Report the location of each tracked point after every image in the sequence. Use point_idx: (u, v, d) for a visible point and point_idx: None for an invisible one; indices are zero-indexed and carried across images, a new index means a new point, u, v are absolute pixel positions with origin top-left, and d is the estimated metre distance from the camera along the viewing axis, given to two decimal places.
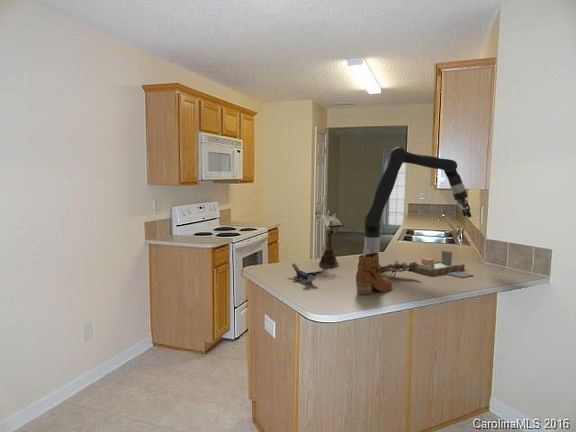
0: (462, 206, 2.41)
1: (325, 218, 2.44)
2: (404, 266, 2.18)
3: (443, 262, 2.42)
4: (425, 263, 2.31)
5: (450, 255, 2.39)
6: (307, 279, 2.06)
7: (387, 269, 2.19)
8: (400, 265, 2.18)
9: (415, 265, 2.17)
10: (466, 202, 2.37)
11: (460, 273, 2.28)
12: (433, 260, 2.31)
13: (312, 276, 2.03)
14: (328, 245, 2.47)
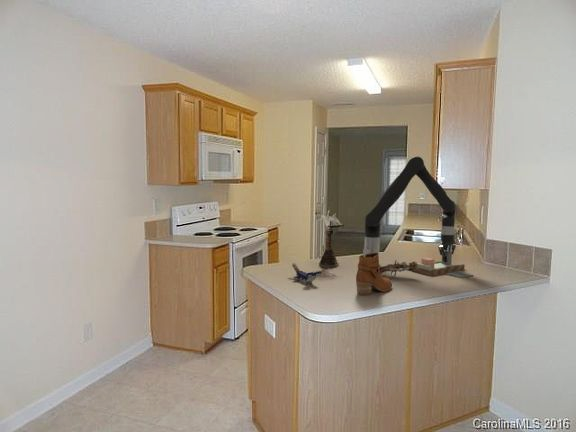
0: None
1: (325, 218, 2.44)
2: (404, 266, 2.19)
3: (443, 262, 2.42)
4: (425, 263, 2.31)
5: (450, 255, 2.39)
6: (307, 279, 2.06)
7: (387, 269, 2.19)
8: (400, 265, 2.19)
9: (415, 265, 2.18)
10: (440, 248, 2.37)
11: (460, 273, 2.28)
12: (433, 260, 2.31)
13: (312, 276, 2.03)
14: (328, 245, 2.47)
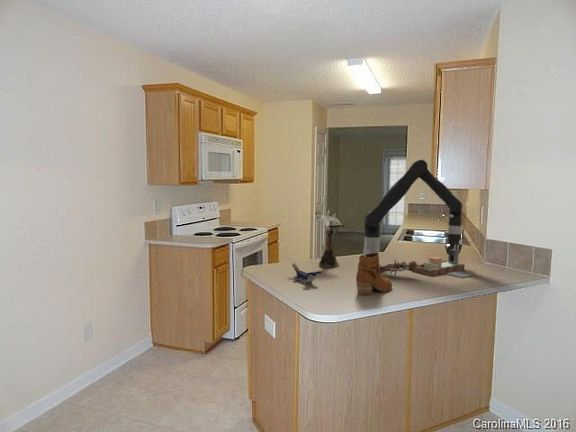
0: None
1: (325, 218, 2.44)
2: (404, 265, 2.19)
3: (450, 261, 2.45)
4: (432, 262, 2.34)
5: (457, 254, 2.42)
6: (307, 279, 2.06)
7: (387, 269, 2.20)
8: (400, 264, 2.20)
9: (415, 264, 2.19)
10: (447, 248, 2.40)
11: (460, 273, 2.28)
12: (440, 259, 2.34)
13: (312, 276, 2.03)
14: (328, 245, 2.47)
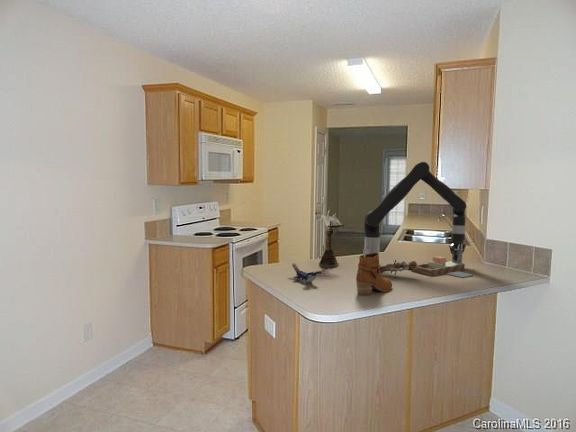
0: None
1: (325, 218, 2.44)
2: (404, 265, 2.20)
3: None
4: (436, 261, 2.36)
5: (461, 253, 2.44)
6: (307, 279, 2.06)
7: (387, 269, 2.20)
8: (400, 264, 2.20)
9: (415, 264, 2.19)
10: (451, 247, 2.42)
11: (460, 273, 2.28)
12: (444, 258, 2.36)
13: (312, 276, 2.03)
14: (328, 245, 2.47)
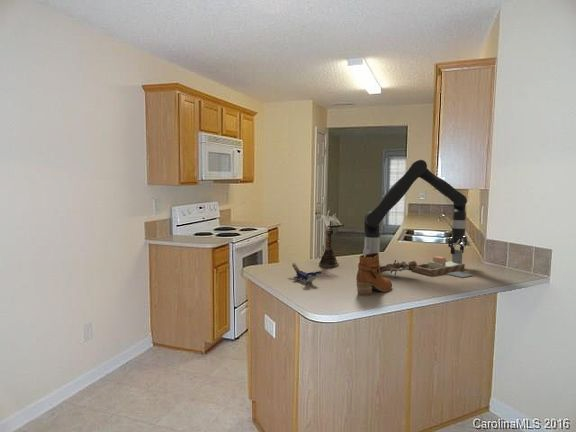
0: None
1: (325, 218, 2.44)
2: (404, 265, 2.20)
3: (454, 260, 2.47)
4: (437, 261, 2.36)
5: (461, 253, 2.44)
6: (307, 279, 2.06)
7: (387, 268, 2.20)
8: (400, 264, 2.20)
9: (414, 264, 2.20)
10: (451, 239, 2.41)
11: (460, 273, 2.28)
12: (444, 258, 2.36)
13: (312, 276, 2.03)
14: (328, 245, 2.47)
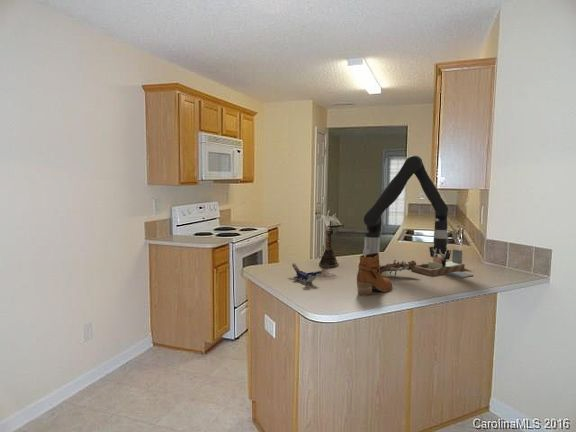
0: (442, 253, 2.34)
1: (325, 218, 2.44)
2: (404, 265, 2.21)
3: (454, 260, 2.47)
4: (437, 261, 2.36)
5: (461, 253, 2.44)
6: (307, 279, 2.06)
7: (387, 268, 2.20)
8: (400, 264, 2.21)
9: (414, 263, 2.21)
10: (450, 252, 2.32)
11: (460, 273, 2.28)
12: None
13: (312, 276, 2.03)
14: (328, 245, 2.47)
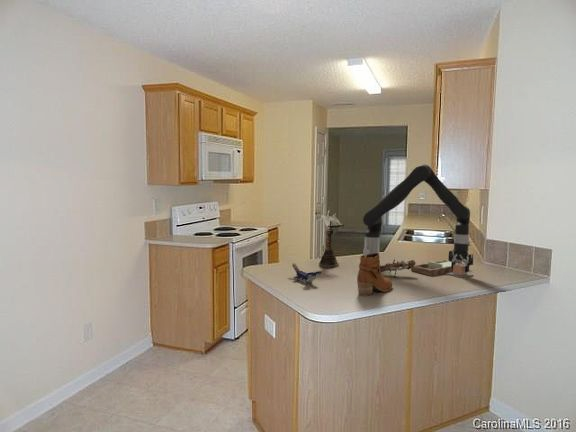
0: (463, 259, 2.22)
1: (325, 218, 2.44)
2: (403, 264, 2.22)
3: None
4: (457, 270, 2.25)
5: None
6: (307, 279, 2.06)
7: (387, 268, 2.21)
8: (399, 263, 2.22)
9: (413, 263, 2.22)
10: (472, 256, 2.20)
11: None
12: None
13: (312, 276, 2.03)
14: (328, 245, 2.47)
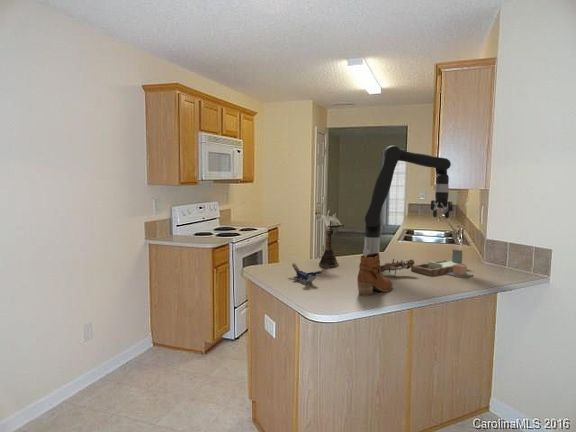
0: (444, 206, 2.43)
1: (325, 218, 2.44)
2: (403, 264, 2.23)
3: (454, 260, 2.47)
4: (457, 270, 2.25)
5: (461, 253, 2.44)
6: (307, 279, 2.06)
7: (387, 268, 2.22)
8: (399, 263, 2.23)
9: (412, 262, 2.24)
10: (451, 203, 2.41)
11: None
12: (465, 266, 2.25)
13: (312, 276, 2.03)
14: (328, 245, 2.47)
